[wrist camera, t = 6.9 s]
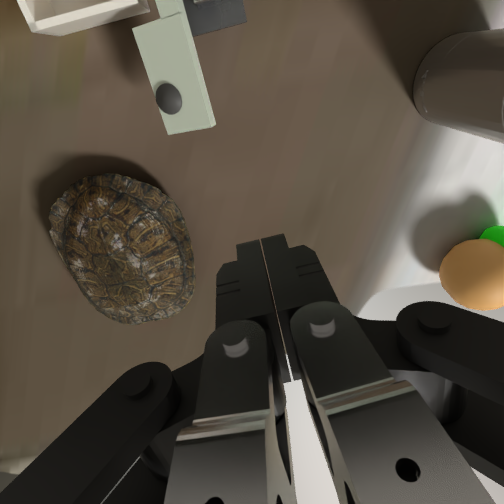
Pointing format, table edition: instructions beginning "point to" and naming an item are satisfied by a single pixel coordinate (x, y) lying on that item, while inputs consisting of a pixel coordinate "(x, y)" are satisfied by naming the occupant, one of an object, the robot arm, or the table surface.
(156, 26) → the lever
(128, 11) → the white open box
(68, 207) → the turtle shell
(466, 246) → the green and tan spheres
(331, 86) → the table surface
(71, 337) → the table surface
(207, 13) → the fulcrum
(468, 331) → the robot arm
